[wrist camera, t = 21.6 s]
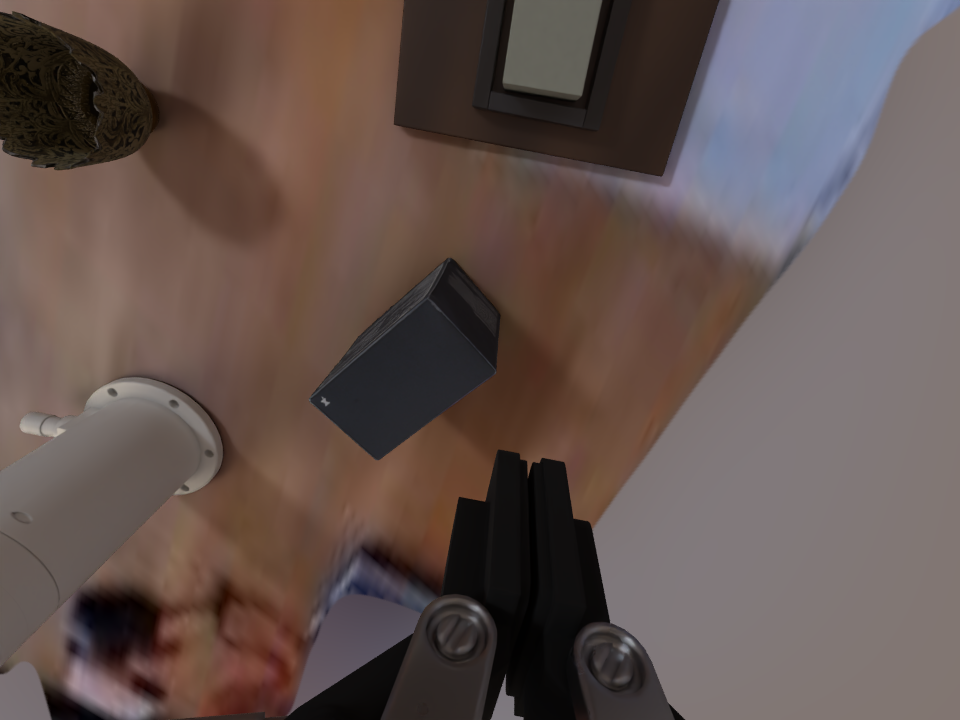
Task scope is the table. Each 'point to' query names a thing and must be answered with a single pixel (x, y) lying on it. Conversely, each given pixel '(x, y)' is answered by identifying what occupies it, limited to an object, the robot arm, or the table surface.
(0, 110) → the cup
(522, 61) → the gray rectangular block
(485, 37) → the mounting board
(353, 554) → the table surface
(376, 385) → the small box
